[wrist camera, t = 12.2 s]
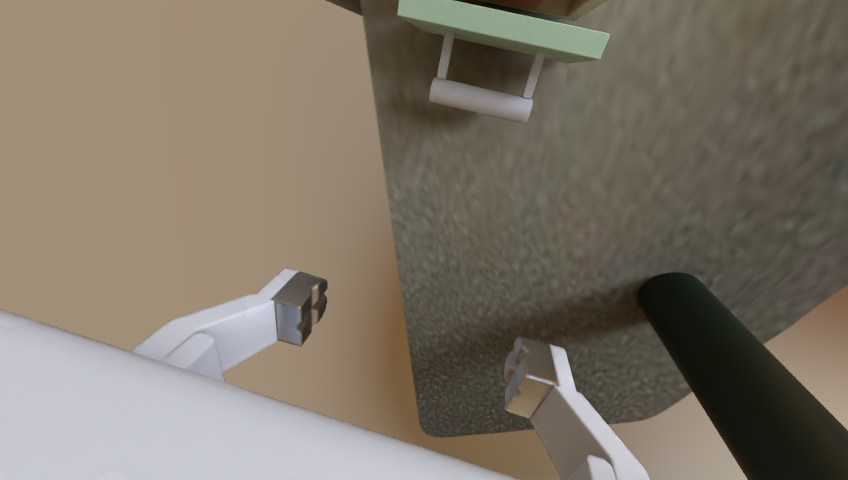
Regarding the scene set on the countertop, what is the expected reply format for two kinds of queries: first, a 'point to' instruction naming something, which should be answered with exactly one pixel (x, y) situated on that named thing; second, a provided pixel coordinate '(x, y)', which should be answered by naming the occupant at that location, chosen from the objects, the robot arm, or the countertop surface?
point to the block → (522, 3)
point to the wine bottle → (744, 386)
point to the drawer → (503, 46)
